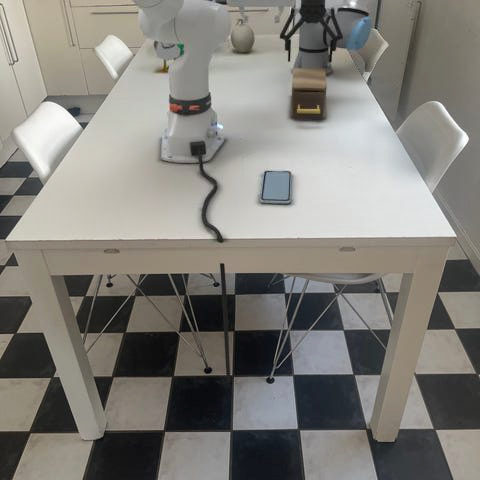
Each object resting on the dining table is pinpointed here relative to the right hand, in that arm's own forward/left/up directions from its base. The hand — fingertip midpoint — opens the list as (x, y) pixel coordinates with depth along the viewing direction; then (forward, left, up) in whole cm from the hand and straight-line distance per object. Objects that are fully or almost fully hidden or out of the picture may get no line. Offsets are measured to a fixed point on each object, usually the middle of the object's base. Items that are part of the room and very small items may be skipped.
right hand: (309, 61), depth 171 cm
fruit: (-61, -32, -14) cm, 70 cm away
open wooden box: (+5, 0, -14) cm, 15 cm away
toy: (-31, -57, -14) cm, 66 cm away
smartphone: (+62, -5, -14) cm, 64 cm away
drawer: (+11, +1, -13) cm, 17 cm away
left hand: (+13, -15, +15) cm, 25 cm away
